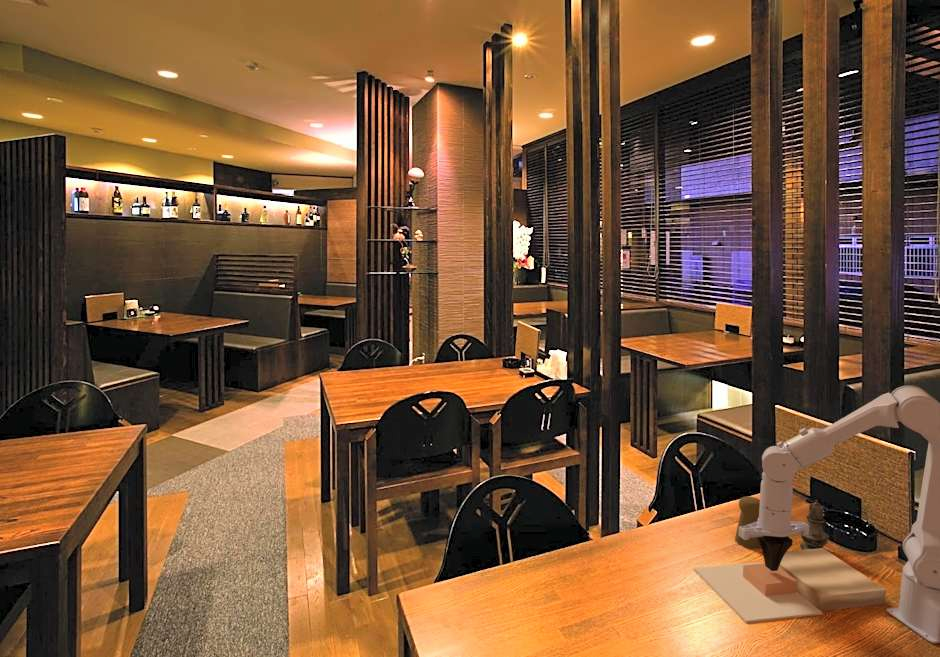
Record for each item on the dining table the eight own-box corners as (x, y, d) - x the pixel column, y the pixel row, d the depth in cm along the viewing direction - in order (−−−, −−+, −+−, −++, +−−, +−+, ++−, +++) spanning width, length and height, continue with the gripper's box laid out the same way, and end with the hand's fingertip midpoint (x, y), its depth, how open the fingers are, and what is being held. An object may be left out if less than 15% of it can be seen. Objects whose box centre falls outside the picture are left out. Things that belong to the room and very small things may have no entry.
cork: (729, 539, 134) (731, 496, 133) (746, 534, 137) (749, 491, 135) (751, 551, 129) (753, 506, 127) (768, 545, 131) (771, 501, 130)
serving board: (884, 603, 109) (886, 589, 108) (820, 610, 107) (821, 596, 106) (822, 560, 124) (822, 548, 124) (765, 565, 122) (766, 553, 122)
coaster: (796, 592, 112) (797, 581, 111) (765, 596, 111) (765, 584, 110) (772, 573, 119) (773, 562, 118) (742, 576, 118) (743, 565, 117)
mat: (822, 614, 106) (822, 612, 106) (745, 622, 103) (745, 620, 103) (760, 563, 123) (760, 562, 123) (693, 569, 121) (693, 568, 121)
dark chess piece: (832, 556, 126) (836, 506, 125) (804, 553, 127) (807, 504, 126) (821, 543, 132) (825, 495, 130) (794, 541, 133) (798, 493, 131)
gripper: (793, 495, 118) (789, 555, 119) (730, 499, 116) (727, 560, 117) (818, 509, 111) (814, 573, 112) (752, 515, 109) (748, 579, 110)
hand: (771, 568), depth 114 cm, fingers closed
